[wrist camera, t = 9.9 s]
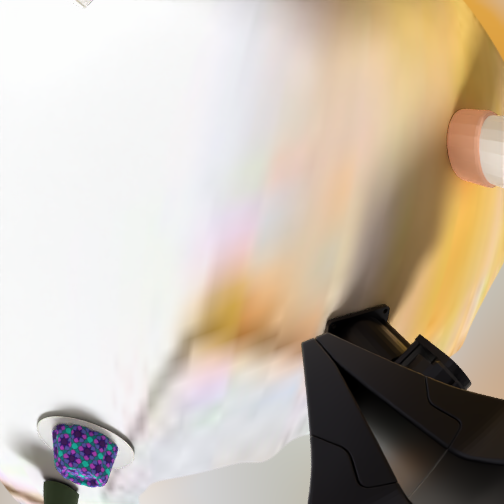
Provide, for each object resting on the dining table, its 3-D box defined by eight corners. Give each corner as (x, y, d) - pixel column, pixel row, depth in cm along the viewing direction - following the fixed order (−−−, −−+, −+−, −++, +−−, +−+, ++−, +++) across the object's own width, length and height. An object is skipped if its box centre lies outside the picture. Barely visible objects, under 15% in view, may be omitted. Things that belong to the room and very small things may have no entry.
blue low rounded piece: (142, 468, 27) (144, 501, 23) (59, 458, 24) (54, 488, 20) (122, 417, 23) (120, 459, 18) (23, 403, 20) (10, 439, 15)
